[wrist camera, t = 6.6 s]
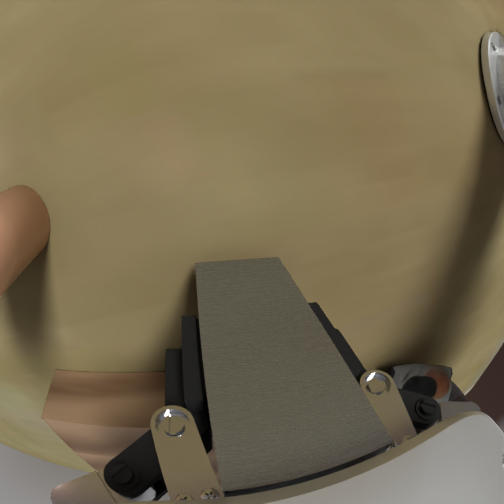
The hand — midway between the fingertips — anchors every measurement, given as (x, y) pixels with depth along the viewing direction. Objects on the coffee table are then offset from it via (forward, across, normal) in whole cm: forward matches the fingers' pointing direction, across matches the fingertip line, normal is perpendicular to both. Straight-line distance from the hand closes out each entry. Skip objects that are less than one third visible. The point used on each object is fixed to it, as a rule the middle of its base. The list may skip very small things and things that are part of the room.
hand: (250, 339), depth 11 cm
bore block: (+4, +7, +14) cm, 16 cm away
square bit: (+3, 0, 0) cm, 3 cm away
